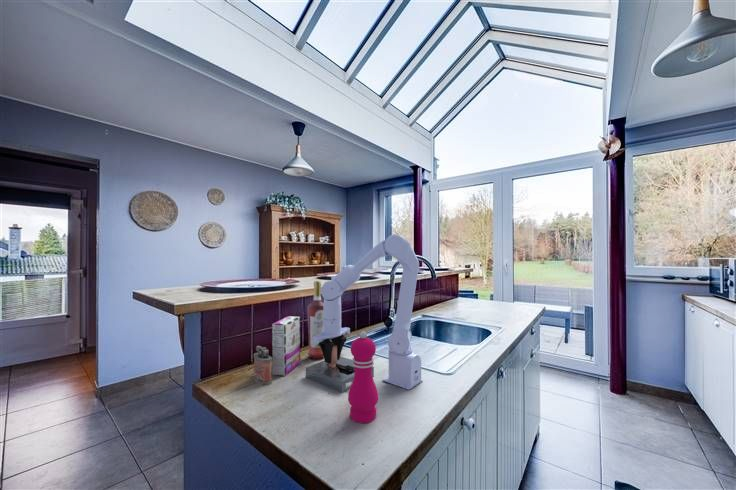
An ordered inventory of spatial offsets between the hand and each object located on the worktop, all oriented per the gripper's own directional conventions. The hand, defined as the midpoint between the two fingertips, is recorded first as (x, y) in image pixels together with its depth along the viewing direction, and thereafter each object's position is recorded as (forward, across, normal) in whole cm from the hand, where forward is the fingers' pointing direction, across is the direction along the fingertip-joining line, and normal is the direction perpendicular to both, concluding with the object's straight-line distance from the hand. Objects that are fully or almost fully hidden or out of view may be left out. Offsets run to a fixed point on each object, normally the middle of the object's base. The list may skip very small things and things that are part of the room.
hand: (332, 360), depth 95 cm
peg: (+4, 0, 0) cm, 4 cm away
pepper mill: (+4, +12, +23) cm, 27 cm away
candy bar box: (+4, +7, -15) cm, 17 cm away
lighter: (+4, +17, -13) cm, 22 cm away
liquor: (+4, -7, -16) cm, 18 cm away
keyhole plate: (+4, 0, +3) cm, 5 cm away
